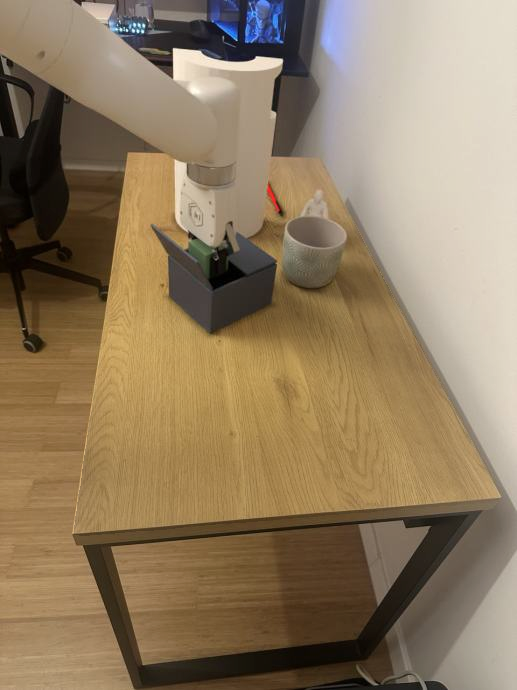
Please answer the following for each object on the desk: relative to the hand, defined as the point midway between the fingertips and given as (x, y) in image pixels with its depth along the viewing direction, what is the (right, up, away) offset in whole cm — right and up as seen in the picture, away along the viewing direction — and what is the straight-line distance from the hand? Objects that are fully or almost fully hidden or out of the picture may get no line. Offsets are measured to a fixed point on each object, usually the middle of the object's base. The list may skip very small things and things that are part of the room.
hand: (207, 266), depth 89 cm
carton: (+2, -5, +8) cm, 10 cm away
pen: (+13, +24, +41) cm, 49 cm away
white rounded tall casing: (0, +13, +28) cm, 31 cm away
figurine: (+21, +9, +27) cm, 35 cm away
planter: (+19, 0, +17) cm, 26 cm away
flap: (-4, +1, -6) cm, 7 cm away
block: (0, 0, 0) cm, 0 cm away
